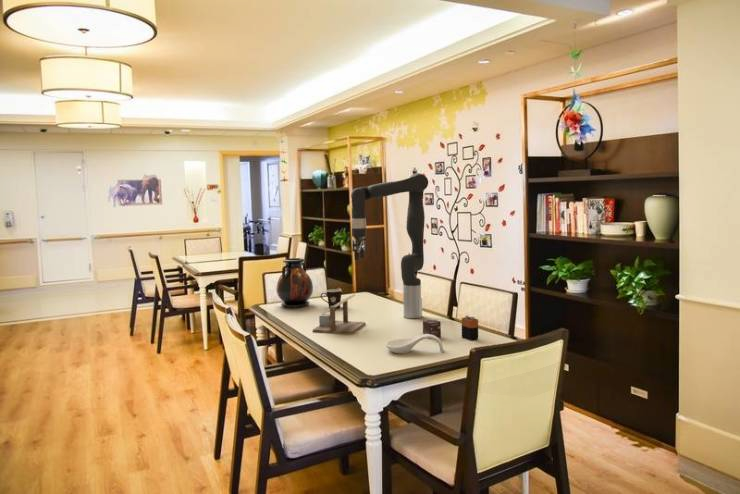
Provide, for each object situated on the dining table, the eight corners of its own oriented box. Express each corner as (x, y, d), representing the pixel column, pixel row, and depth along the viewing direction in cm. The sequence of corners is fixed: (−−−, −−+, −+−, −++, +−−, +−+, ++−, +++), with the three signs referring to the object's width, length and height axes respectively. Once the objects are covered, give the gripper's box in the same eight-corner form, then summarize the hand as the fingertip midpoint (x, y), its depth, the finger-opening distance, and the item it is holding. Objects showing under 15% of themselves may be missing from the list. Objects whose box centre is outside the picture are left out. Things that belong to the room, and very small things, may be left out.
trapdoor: (355, 295, 272) (354, 293, 272) (345, 300, 259) (344, 298, 259) (333, 308, 276) (332, 306, 276) (322, 314, 263) (321, 312, 263)
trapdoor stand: (365, 324, 275) (364, 299, 274) (351, 334, 256) (351, 307, 255) (328, 322, 281) (327, 298, 280) (312, 332, 262) (311, 306, 261)
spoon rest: (385, 356, 221) (385, 338, 221) (385, 348, 233) (385, 331, 232) (444, 355, 220) (444, 338, 220) (441, 347, 232) (441, 330, 231)
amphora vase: (294, 301, 340) (293, 256, 338) (321, 304, 328) (319, 258, 325) (269, 307, 323) (267, 260, 320) (296, 311, 310) (294, 262, 308)
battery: (471, 341, 240) (471, 318, 239) (461, 337, 246) (461, 315, 245) (478, 339, 242) (478, 317, 242) (468, 336, 248) (468, 314, 247)
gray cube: (332, 314, 272) (323, 313, 273) (328, 316, 267) (319, 315, 269) (332, 324, 272) (323, 323, 274) (329, 326, 268) (319, 325, 269)
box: (429, 339, 244) (429, 323, 244) (422, 336, 250) (422, 320, 249) (441, 337, 247) (441, 321, 247) (433, 334, 253) (433, 319, 252)
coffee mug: (344, 307, 319) (344, 290, 318) (336, 309, 312) (335, 292, 311) (328, 305, 326) (328, 288, 325) (320, 307, 318) (319, 290, 317)
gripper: (361, 228, 272) (362, 260, 273) (370, 226, 285) (370, 257, 287) (347, 228, 274) (347, 260, 275) (356, 226, 287) (357, 257, 289)
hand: (359, 258), depth 281 cm, fingers open, 8 cm apart
